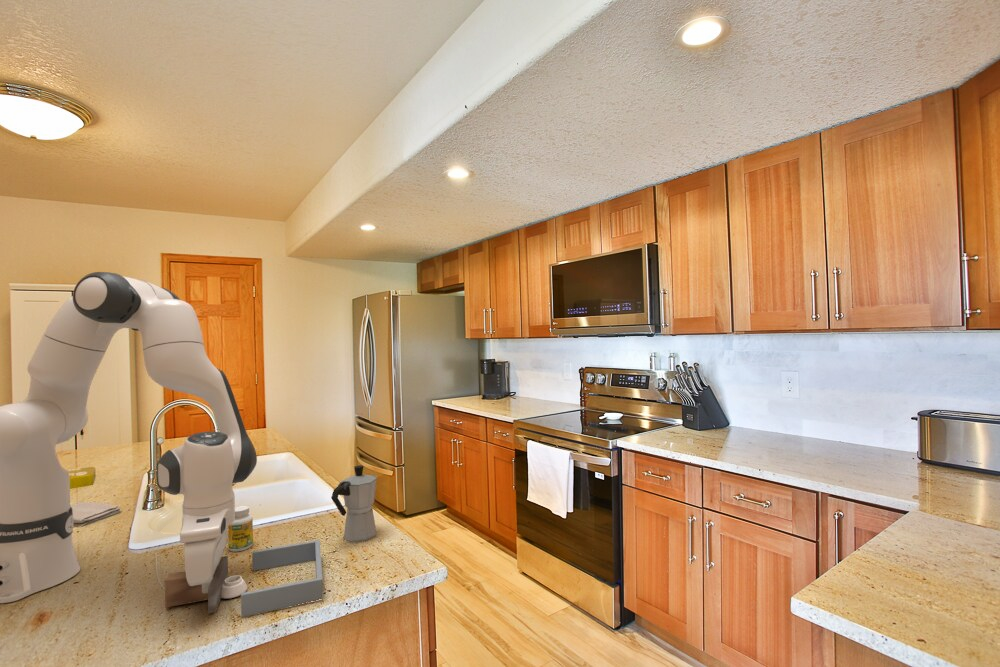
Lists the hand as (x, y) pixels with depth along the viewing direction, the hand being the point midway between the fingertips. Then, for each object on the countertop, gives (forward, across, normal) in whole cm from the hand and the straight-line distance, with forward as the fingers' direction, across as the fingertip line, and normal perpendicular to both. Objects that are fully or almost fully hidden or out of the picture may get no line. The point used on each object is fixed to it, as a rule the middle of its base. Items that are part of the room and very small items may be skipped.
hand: (210, 585), depth 94 cm
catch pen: (+2, 0, +14) cm, 14 cm away
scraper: (+2, 0, -3) cm, 3 cm away
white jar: (+3, 0, +4) cm, 5 cm away
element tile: (+3, -112, -64) cm, 129 cm away
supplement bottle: (+3, -24, +2) cm, 24 cm away
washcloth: (+3, -68, -45) cm, 81 cm away
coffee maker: (+3, -18, +29) cm, 35 cm away
